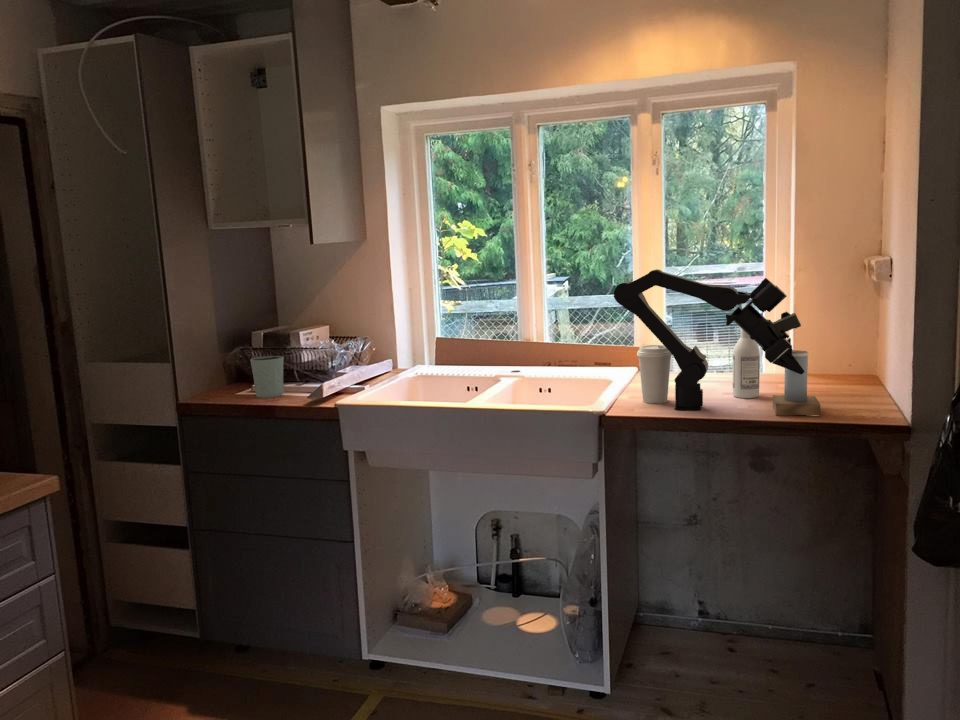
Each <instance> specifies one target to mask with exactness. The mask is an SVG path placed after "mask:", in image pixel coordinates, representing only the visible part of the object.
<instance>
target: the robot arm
mask: <svg viewBox="0 0 960 720" xmlns="http://www.w3.org/2000/svg"><path fill="white" fill-rule="evenodd" d="M655 286H656V287H660V288H663V289H667V290H670V291H674V292H677V293H680V294H683V295H687V296H691V297H693V298H697V299H699V300H702V301H703V302H705V303H707V304H708V305H710V306H712V307H715V308H716V309H718V310H720V311H723V312H724V311H725V312H729V311H731V310H733V309H734V310H733V312H732V313H730V314H729V313H728V314H727V313H726V314H725V320H726V323H725V325H726V326H727V327H728V326H730V325H731V324H732V323H733V322H734V323H735V324H736V325H738V327H739V328H740V329H741V328H742V329H743V330H744V331H745V332H746V333H747V334H748V335H749V336H750V338H751V339H752V340H754V341H755V343H756V344H757V346H758V345H759V346H760V348H761V350H762V351H763V352H764V358H765V359H766V360H767V362H769V363H770V364H773V365H776V366H779V367H782V368H783V369H785V368H786V369H789V370H791V371H794V372H796V373H799V374H803V373H804V372H805V371H804V370H803V368H802V367H801V365H800V364H799V363H798V361H797V360H796V359H795V357H794V356H793V355H792V350H793V345H792V342H791V341H792V339H791V337H790V334H788V333H787V332H788V331H791V330H794V329H798V328H800V327H802V325H801V324H802V323H801V322H800V320H799V318H798V316H797V314H796V313H795V312H793V313H789V312H788V311H785V312H782V313H780V319H777V320H775V321H772V320H771V319H767V318H765V316H763V315H762V314H761V313H765V312H766V311H767V312H768V313H771V311H773V310H774V309H775V308H776V307H777V306H778V305H779V304H780V303H781V302H782V301H784V300H785V299H786V298H787V294H786V293H785V292H784V291H783V290H782V289H781V288H779V287H778V286H777V285H775V284H774V283H773V282H772V281H771V280H769V279H768V278H767V277H765V278H763V280H761V282H760V283H759V285H758V286H757V287H756V288H754V289H753V290H752V291H751V292H748V291H738V290H737V289H736V288H735V287H733V286H730V285H729V286H728V285H720V284H707V283H704V282H699V281H696V280H692V279H689V278H685V277H682V276H679V275H675V274H672V273H668V272H665V271H663V270H661V269H653V270H651V271H649V272H648V273H647V274H645V275H643V276H641V277H639V278H637V279H635V280H633V281H631V280H630V281H625V282H620V283H619V284H618V285H616V286H615V288H614V290H613V298H614V300H615V302H616V303H617V304H619V305H620V306H621V307H623V308H624V309H626V310H627V311H629V312H630V313H631V314H634V316H636V317H638V318H639V320H640V321H641V322H642V323H643V324H644V325H645V326H646V328H648V330H649V331H650V332H651V333H652V334H653V335H654V336H655V337H656V338H657V339H658V341H659V342H660V343H661V345H664V346H665V347H666V348H667V349H668V350H669V351H670V353H671V354H672V355H671V356H673V358H674V359H675V362H676V364H677V366H678V368H679V369H680V370H681V371H680V372H679V373H678V374H677V375H676V377H675V378H674V379H673V380H674V383H675V386H674V387H675V388H674V390H675V391H674V395H675V396H674V399H675V404H674V410H676V411H677V410H680V411H681V410H683V411H686V410H687V411H690V410H691V411H700V410H701V409H702V407H703V406H704V404H703V403H704V402H703V401H704V389H703V388H701V383H699V381H701V380H702V379H703V378H704V377H705V376H706V374H707V372H708V369H709V362H708V361H707V356H706V354H704V353H702V351H701V350H700V349H699V347H698V346H697V345H694V347H692V348H691V347H690V346H689V345H686V344H685V343H684V341H682V340H681V339H680V337H679V336H678V335H677V334H676V333H675V332H674V331H673V330H672V329H671V327H669V325H668V324H667V323H666V322H665V321H664V320H663V319H662V318H661V317H660V316H659V315H658V314H657V312H656V311H655V310H654V309H653V308H652V307H651V306H650V304H649V303H648V301H647V299H646V297H645V295H644V292H646V291H648V290H650V289H651V288H653V287H655ZM750 299H751V300H750ZM749 300H750V301H749ZM748 301H749V302H748ZM747 302H748V303H747ZM746 303H747V304H746ZM743 304H746V305H745V306H744V307H741V306H740V305H743ZM738 305H739V306H738ZM753 305H754V306H755V307H754V306H753ZM737 306H738V307H737ZM735 307H736V308H735ZM757 309H758V310H759V311H760V312H761V313H760V312H759V311H758V310H757ZM759 346H758V347H759Z"/></svg>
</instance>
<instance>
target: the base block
mask: <svg viewBox="0 0 960 720" xmlns="http://www.w3.org/2000/svg"><path fill="white" fill-rule="evenodd" d="M772 409H773V411H774V414H776V415H807V416H806V417H812V416H811V415H820V416H821V403H820V402H819V400H818V398H817V397H816V396H815V395H807V401H804V402H791V401H786V400H784V395H777V394H776V395H775V394H774V395H772ZM776 415H775V416H776Z"/></svg>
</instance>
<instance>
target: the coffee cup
mask: <svg viewBox="0 0 960 720" xmlns="http://www.w3.org/2000/svg"><path fill="white" fill-rule="evenodd" d="M636 356H637V357H638V365H639V374H640V375H639V376H640V384H641V386H640V387H641V393H642V401H643V403H645V402H646V404H653V403H658V404H664V403H667V402H668V397H669V396H668V394H669V384H670V383H669V382H670V371H671V361H672V360H671V359H672V356H673V355H672V354H671V353H670V351H669V350H668V349H667V348H666V347H665V346H664V345H663V344H647V345H642V346H639V348H638V350H637V352H636Z"/></svg>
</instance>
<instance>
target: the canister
mask: <svg viewBox="0 0 960 720" xmlns="http://www.w3.org/2000/svg"><path fill="white" fill-rule="evenodd" d="M792 355H793V356H794V357H795V359H796V360H797V361H798V363H799V364H800V365H801V367H802V368H803V370H804V371H805V372H804V373H803V374H799V373H796V372H794V371H791V370H789V369H786V368H784V393H783V394H784V400H786V401H791V402H804V401H807V396H808V370H809V369H808V362H809V361H808V357H809V351H807V350H793V349H792Z"/></svg>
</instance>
